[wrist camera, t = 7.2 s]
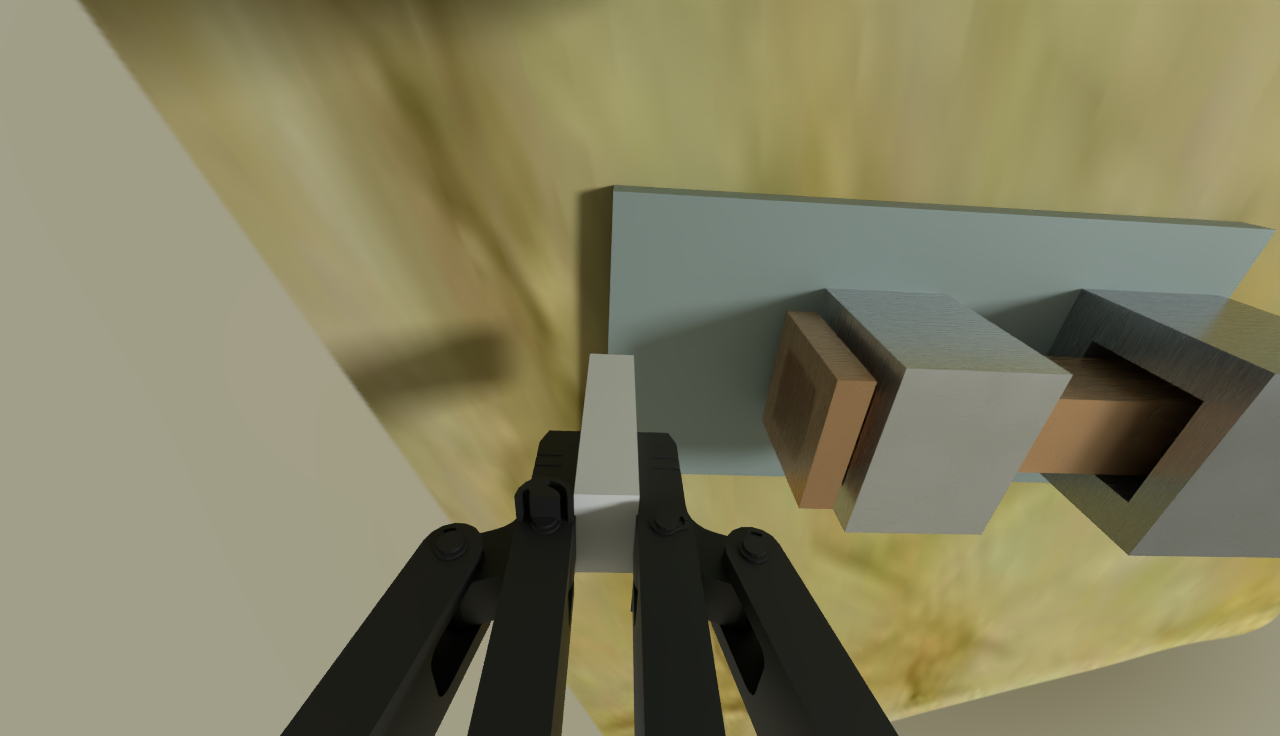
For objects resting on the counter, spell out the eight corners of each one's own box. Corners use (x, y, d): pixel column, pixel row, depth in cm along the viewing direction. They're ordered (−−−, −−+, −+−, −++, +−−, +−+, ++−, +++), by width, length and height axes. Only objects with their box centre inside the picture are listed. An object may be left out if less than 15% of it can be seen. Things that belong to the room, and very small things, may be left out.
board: (613, 185, 19) (613, 191, 17) (1242, 222, 20) (1276, 229, 19) (604, 455, 25) (603, 472, 24) (1081, 468, 26) (1100, 483, 25)
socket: (1081, 288, 20) (1275, 373, 14) (1219, 295, 20) (1464, 381, 14) (1002, 438, 24) (1128, 555, 18) (1119, 441, 24) (1281, 557, 18)
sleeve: (825, 288, 20) (906, 368, 14) (946, 293, 20) (1073, 374, 14) (790, 423, 23) (844, 531, 17) (894, 426, 23) (981, 534, 18)
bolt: (786, 310, 19) (838, 380, 15) (1149, 326, 20) (1302, 396, 16) (761, 420, 22) (799, 508, 17) (1084, 430, 23) (1200, 516, 18)
